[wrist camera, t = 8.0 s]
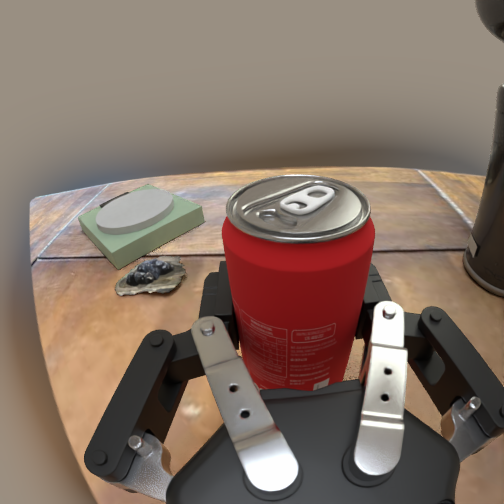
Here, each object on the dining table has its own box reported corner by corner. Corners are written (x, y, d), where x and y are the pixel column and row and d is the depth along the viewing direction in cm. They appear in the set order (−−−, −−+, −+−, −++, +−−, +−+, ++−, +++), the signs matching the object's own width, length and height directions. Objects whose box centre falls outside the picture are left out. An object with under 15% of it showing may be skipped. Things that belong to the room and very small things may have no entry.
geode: (192, 289, 29) (188, 274, 28) (115, 312, 27) (108, 298, 26) (179, 253, 34) (176, 239, 33) (114, 272, 32) (108, 259, 31)
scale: (151, 196, 49) (146, 178, 47) (204, 222, 40) (200, 198, 38) (82, 230, 42) (75, 211, 40) (118, 270, 33) (108, 245, 31)
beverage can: (231, 392, 17) (187, 207, 10) (290, 343, 20) (289, 163, 13) (296, 446, 14) (315, 271, 7) (354, 385, 16) (402, 197, 10)
